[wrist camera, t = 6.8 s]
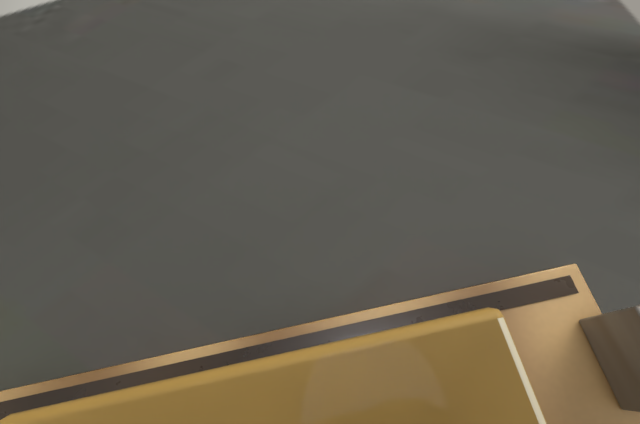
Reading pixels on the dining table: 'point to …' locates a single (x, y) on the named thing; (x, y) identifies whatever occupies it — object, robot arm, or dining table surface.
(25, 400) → the score rail
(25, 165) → the dining table surface
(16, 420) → the cream marker
